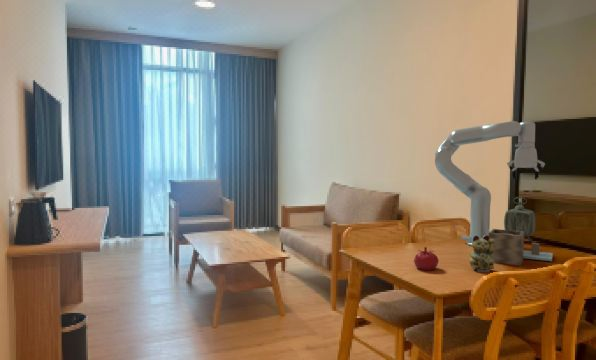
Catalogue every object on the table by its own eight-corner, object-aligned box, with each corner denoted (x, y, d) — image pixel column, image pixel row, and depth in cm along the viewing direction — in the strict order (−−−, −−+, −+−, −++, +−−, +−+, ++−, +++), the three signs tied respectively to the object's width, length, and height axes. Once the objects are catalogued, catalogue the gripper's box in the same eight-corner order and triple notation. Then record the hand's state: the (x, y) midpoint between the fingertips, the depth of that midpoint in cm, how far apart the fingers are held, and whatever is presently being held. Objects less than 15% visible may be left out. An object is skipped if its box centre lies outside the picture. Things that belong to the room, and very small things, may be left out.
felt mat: (522, 258, 192) (522, 257, 192) (524, 254, 200) (524, 252, 200) (547, 261, 186) (547, 259, 186) (548, 256, 195) (548, 255, 195)
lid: (517, 257, 191) (517, 244, 191) (520, 251, 202) (520, 239, 202) (551, 261, 184) (552, 247, 183) (552, 255, 195) (552, 242, 195)
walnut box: (488, 261, 186) (488, 233, 185) (492, 255, 197) (493, 228, 196) (520, 265, 179) (521, 235, 178) (523, 259, 190) (524, 231, 189)
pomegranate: (443, 269, 173) (444, 248, 173) (427, 273, 168) (428, 250, 167) (424, 264, 182) (425, 243, 181) (408, 267, 176) (409, 245, 176)
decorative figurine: (473, 272, 168) (474, 236, 167) (465, 267, 176) (465, 232, 176) (497, 272, 168) (498, 236, 167) (487, 267, 176) (488, 232, 176)
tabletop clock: (535, 241, 229) (536, 197, 228) (531, 244, 223) (532, 198, 221) (507, 238, 239) (508, 195, 238) (502, 241, 232) (503, 196, 231)
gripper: (506, 146, 215) (505, 178, 216) (545, 145, 205) (543, 179, 206) (508, 146, 221) (508, 178, 222) (546, 145, 211) (545, 179, 212)
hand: (525, 179), depth 214 cm, fingers open, 9 cm apart
